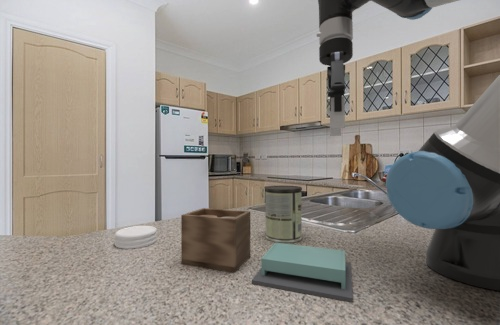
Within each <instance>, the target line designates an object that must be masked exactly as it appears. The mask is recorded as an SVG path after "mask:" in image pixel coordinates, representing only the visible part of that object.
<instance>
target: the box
mask: <svg viewBox="0 0 500 325" xmlns="http://www.w3.org/2000/svg"><path fill="white" fill-rule="evenodd" d="M180 217H181V218H180V219H181V220H180V221H181V225H180V228H181V234H180V235H181V238H180V239H181V247H180V248H181V250H180V251H181V253H180V254H181V257H180V258H181V263H180V264H182V265H187V266H193V267H198V268H199V267H200V268H205V269H209V270H216V271H222V272H228V273H236V272H237V271H238V270H239V269H240V268H241V267H242V266H243V265H244V264H245V263H246V262H247V261H248V260H249V259H250V258H251V211H248V210H237V209H236V210H235V209H219V208H208V207H207V208H206V207H203V208H199V209H196V210H192V211H190V212H187V213H184V214H181V216H180Z"/></svg>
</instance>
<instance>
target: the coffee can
mask: <svg viewBox="0 0 500 325" xmlns="http://www.w3.org/2000/svg"><path fill="white" fill-rule="evenodd" d="M302 189H303V187H301V186H297V185H268V186H265V187H264V192H265V193H264V196H265V197H264V198H265V200H264V201H265V206H264V208H265V236H264V237H265V239H266V240H268V241H270V242H274V243H283V244H291V243H297V242H300V241H301V240H302V239H303V230H302V228H303V226H302V223H303V222H302V220H303V219H302V217H303V216H302Z"/></svg>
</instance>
